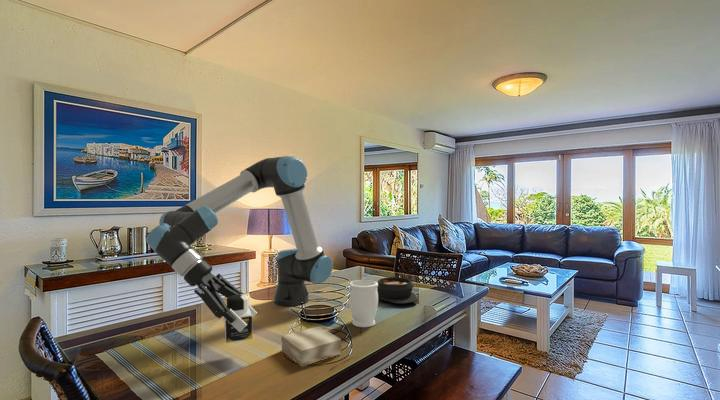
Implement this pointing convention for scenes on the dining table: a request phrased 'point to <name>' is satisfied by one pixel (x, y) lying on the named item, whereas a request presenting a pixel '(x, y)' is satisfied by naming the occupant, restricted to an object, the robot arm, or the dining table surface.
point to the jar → (363, 302)
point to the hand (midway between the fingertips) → (249, 322)
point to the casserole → (396, 290)
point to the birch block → (311, 345)
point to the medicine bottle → (242, 310)
